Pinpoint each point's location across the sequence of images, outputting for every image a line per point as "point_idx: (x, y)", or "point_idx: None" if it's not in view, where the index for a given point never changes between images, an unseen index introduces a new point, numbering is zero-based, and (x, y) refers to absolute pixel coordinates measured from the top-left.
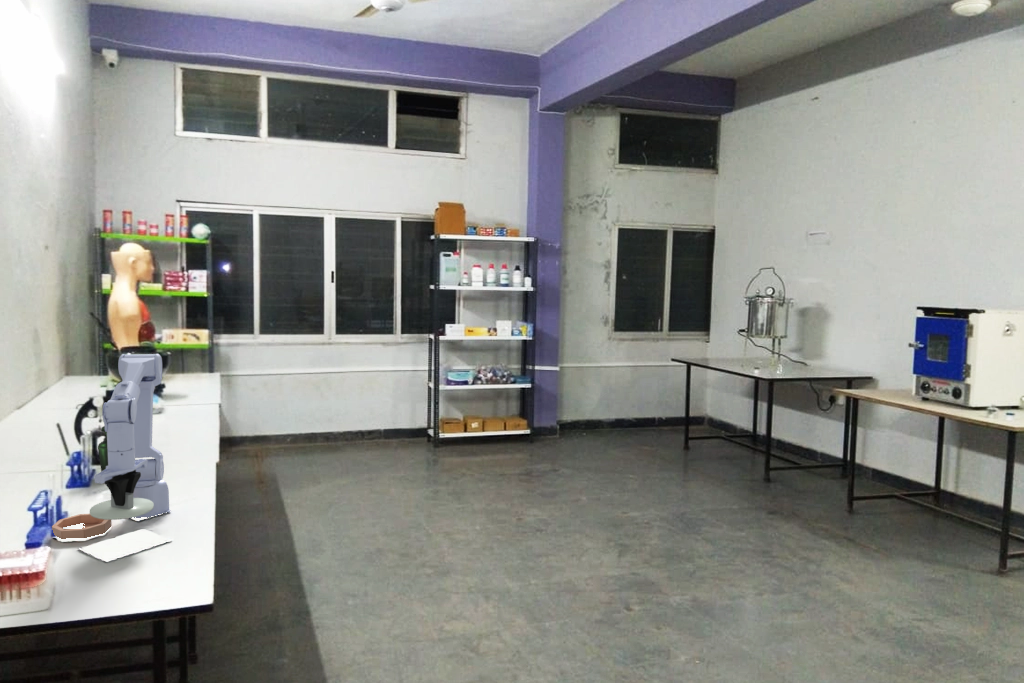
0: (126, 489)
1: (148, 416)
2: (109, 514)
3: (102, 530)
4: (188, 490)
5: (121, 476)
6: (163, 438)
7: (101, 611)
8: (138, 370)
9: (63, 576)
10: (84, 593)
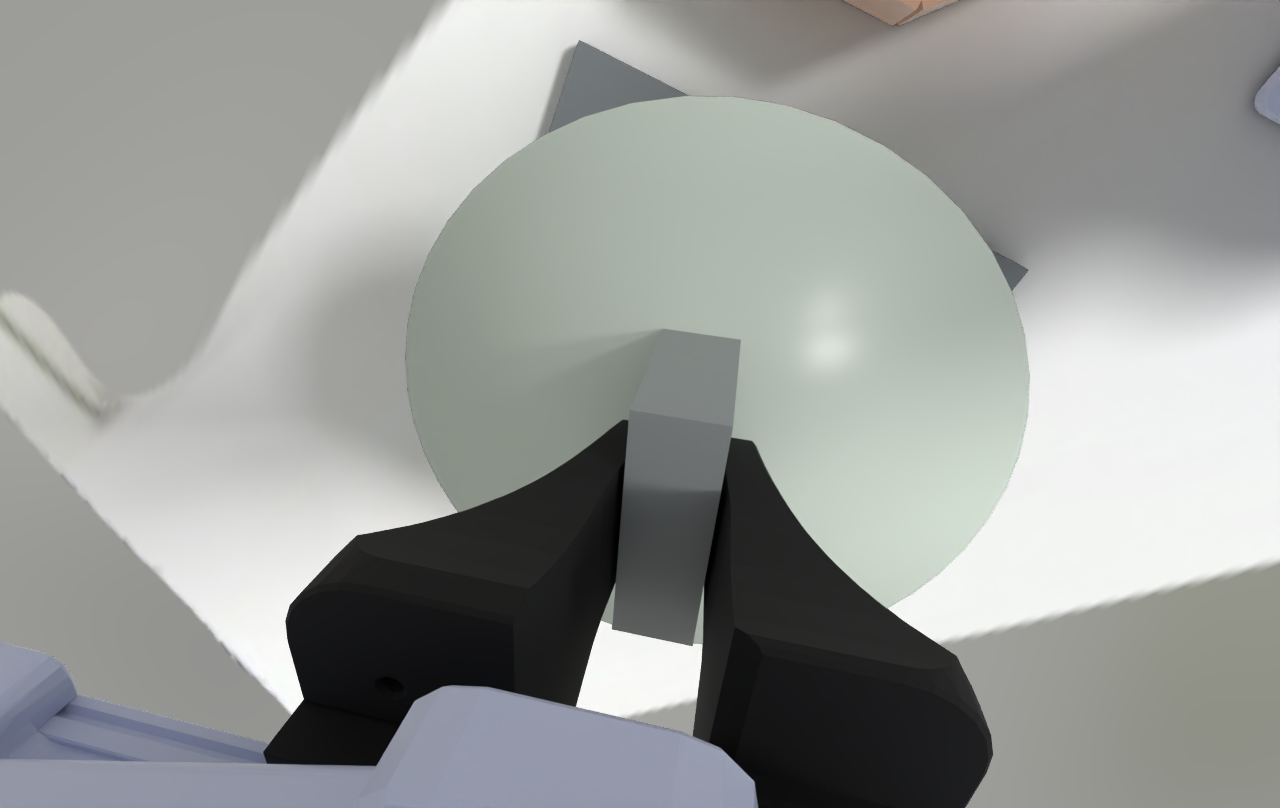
0: (715, 594)
1: None
2: (479, 438)
3: (886, 10)
4: None
5: (715, 717)
6: None
7: (190, 577)
8: None
9: (284, 264)
10: (232, 461)
